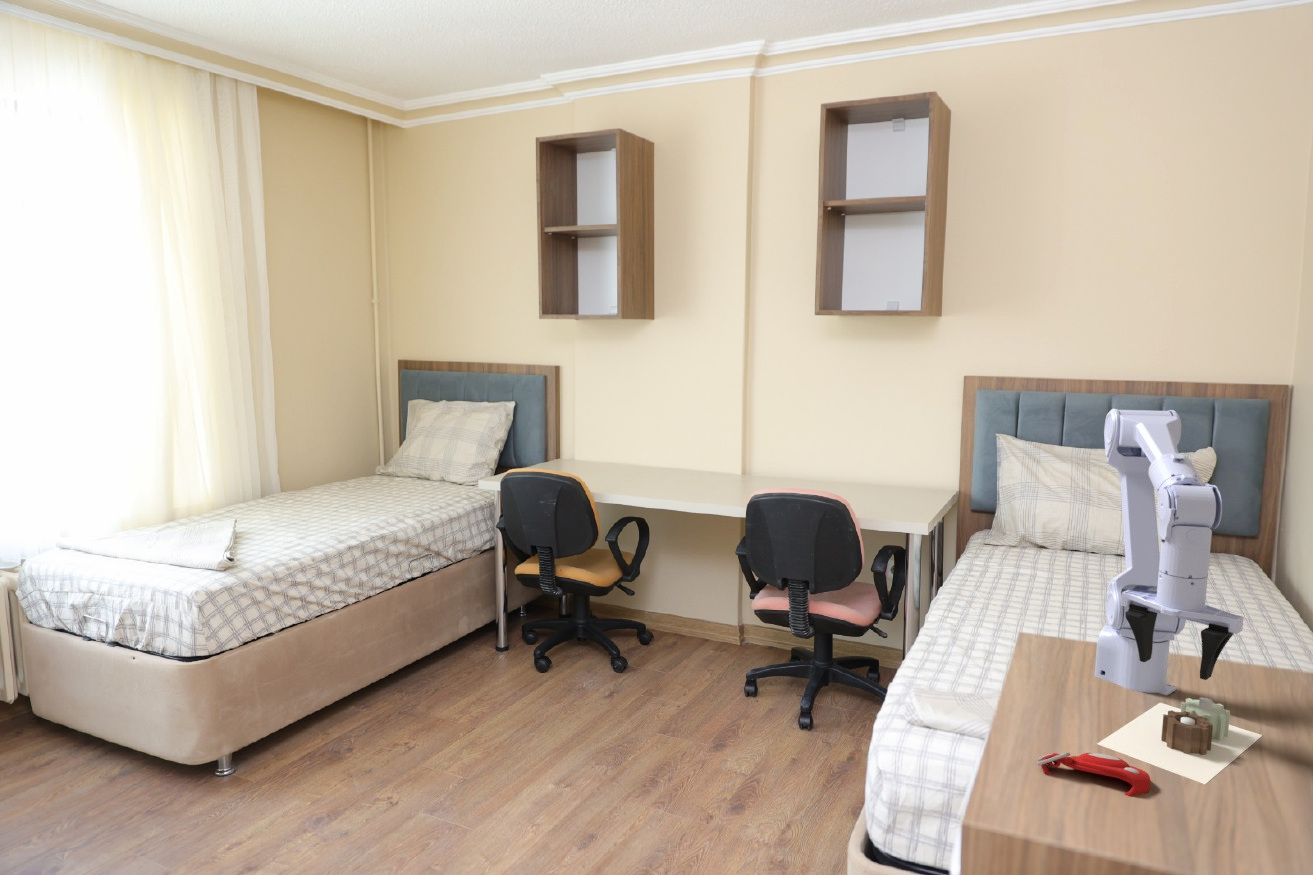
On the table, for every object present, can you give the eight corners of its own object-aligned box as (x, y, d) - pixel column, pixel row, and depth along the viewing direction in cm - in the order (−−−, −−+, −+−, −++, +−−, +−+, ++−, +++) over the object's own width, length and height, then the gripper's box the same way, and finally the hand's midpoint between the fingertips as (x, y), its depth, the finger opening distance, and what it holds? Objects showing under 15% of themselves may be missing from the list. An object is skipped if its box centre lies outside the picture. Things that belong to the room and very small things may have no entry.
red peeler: (1098, 748, 116) (1168, 766, 107) (1097, 784, 115) (1167, 804, 106) (1028, 743, 111) (1095, 761, 102) (1026, 780, 111) (1093, 801, 101)
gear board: (1096, 751, 117) (1099, 711, 116) (1159, 708, 129) (1162, 673, 129) (1204, 792, 107) (1208, 749, 106) (1261, 742, 119) (1265, 703, 118)
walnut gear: (1155, 743, 117) (1157, 718, 116) (1171, 731, 120) (1173, 706, 120) (1200, 759, 113) (1202, 733, 112) (1216, 746, 116) (1218, 721, 116)
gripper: (1114, 566, 122) (1107, 659, 124) (1232, 591, 111) (1223, 693, 112) (1136, 557, 126) (1129, 647, 128) (1252, 581, 115) (1243, 679, 117)
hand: (1174, 668), depth 121 cm, fingers open, 7 cm apart
